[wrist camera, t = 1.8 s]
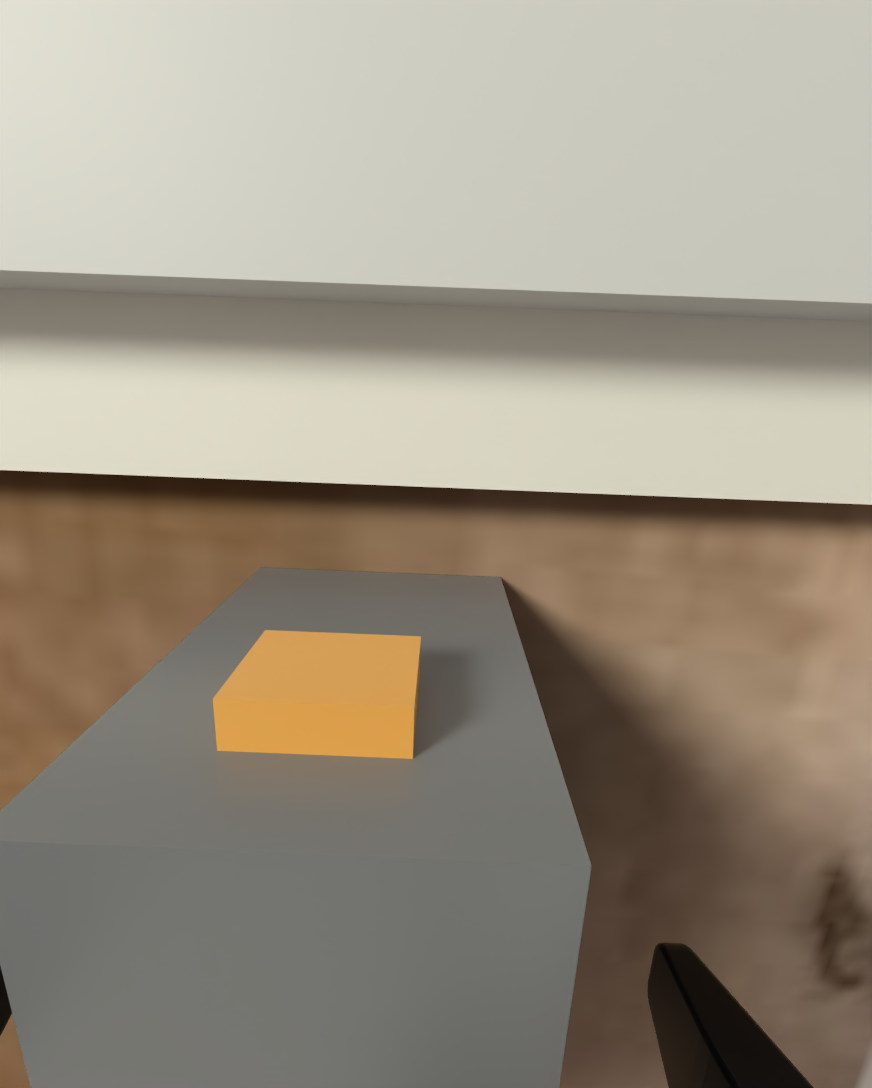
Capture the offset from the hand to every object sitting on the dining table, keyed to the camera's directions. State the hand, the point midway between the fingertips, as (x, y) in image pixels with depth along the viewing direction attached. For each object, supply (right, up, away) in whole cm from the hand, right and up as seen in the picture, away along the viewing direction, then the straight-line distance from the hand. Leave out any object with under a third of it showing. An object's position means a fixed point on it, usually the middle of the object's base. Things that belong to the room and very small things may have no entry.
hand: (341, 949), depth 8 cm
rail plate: (-1, +12, +1) cm, 12 cm away
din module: (0, +1, +5) cm, 5 cm away
